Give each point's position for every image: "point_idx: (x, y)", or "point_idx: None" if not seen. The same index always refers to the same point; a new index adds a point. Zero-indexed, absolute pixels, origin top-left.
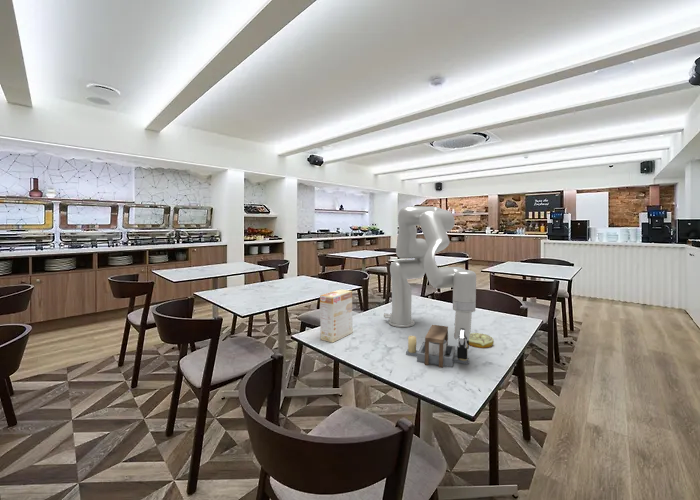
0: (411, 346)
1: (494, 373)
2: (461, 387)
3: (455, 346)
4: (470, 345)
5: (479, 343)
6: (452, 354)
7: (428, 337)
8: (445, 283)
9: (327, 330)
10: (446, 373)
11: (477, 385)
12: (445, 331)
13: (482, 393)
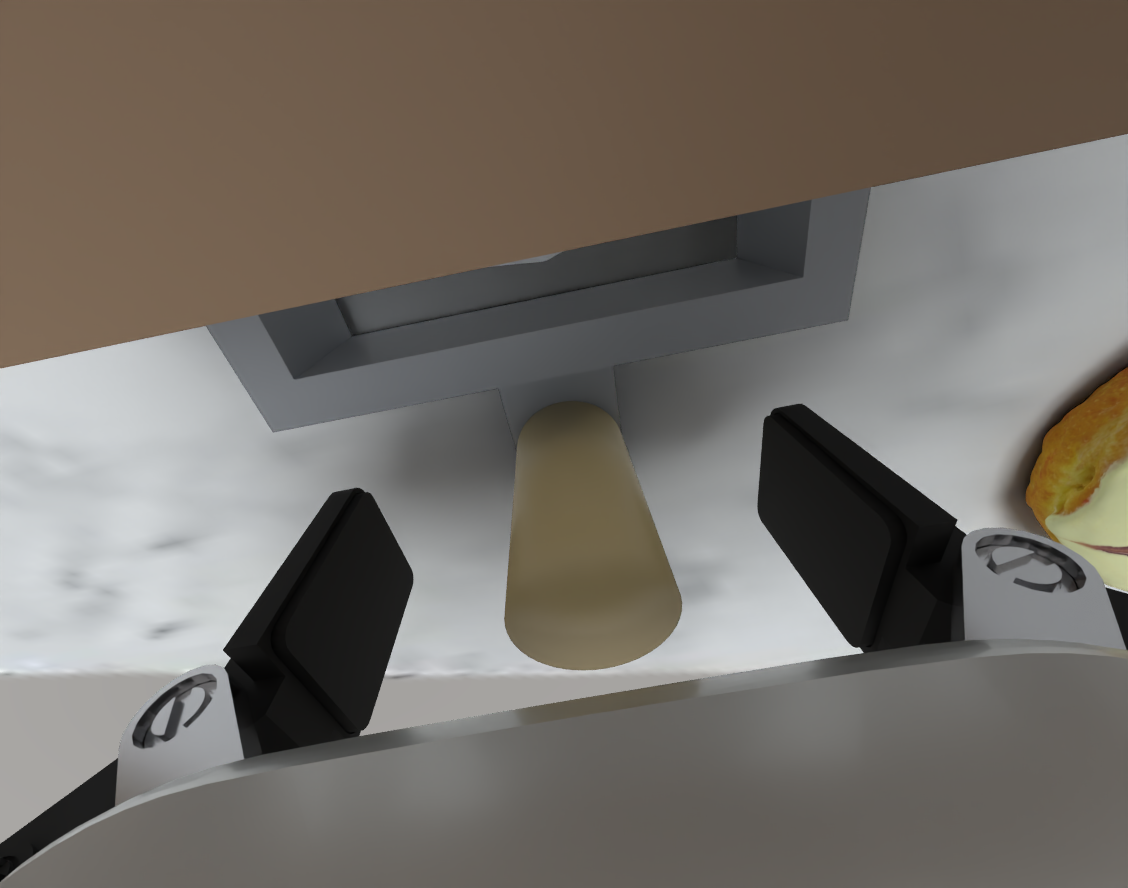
0: None
1: (510, 641)
2: (55, 543)
3: (837, 321)
4: (1121, 378)
5: (1087, 508)
6: (435, 386)
7: None
8: None
9: None
10: (164, 355)
11: (219, 610)
12: (975, 61)
13: (140, 650)
